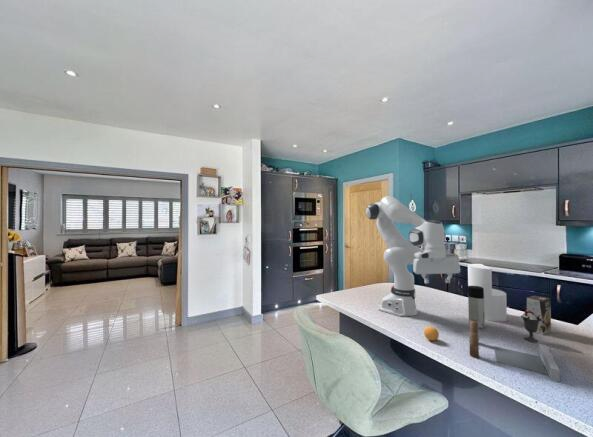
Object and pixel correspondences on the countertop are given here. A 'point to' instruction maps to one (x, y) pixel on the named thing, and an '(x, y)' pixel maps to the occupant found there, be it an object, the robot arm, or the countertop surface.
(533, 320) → the sundae
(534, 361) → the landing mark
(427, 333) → the ball
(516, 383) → the countertop surface
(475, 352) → the post
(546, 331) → the coffee box
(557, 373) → the bar
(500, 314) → the cylinder
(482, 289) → the spray can
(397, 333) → the countertop surface
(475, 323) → the post
